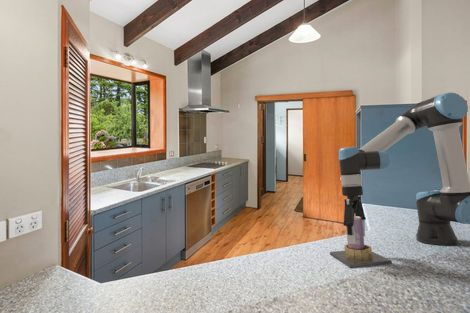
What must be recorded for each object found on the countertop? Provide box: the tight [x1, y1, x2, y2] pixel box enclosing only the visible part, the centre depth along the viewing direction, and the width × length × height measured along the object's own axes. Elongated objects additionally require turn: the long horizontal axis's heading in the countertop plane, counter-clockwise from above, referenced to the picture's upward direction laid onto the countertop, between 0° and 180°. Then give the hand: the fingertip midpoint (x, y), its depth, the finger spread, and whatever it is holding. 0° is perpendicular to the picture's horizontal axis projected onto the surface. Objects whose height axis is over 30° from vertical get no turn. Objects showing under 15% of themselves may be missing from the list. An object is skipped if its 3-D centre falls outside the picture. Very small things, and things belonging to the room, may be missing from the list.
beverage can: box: [345, 215, 366, 250], centre depth 101 cm, size 6×6×15 cm
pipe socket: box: [329, 243, 393, 269], centre depth 101 cm, size 16×16×5 cm
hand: (356, 239), depth 102 cm, fingers open, 13 cm apart
